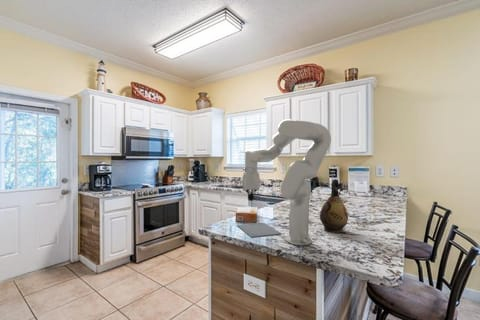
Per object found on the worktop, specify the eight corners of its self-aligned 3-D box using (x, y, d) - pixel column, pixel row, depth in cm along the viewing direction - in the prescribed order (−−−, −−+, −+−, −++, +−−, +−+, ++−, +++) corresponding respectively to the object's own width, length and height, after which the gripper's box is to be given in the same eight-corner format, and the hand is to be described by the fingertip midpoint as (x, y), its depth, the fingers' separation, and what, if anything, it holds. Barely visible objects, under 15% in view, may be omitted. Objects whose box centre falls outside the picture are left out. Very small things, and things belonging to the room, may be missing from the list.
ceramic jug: (350, 235, 130) (352, 181, 130) (321, 233, 133) (322, 180, 133) (343, 226, 147) (344, 178, 146) (317, 224, 150) (318, 177, 149)
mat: (281, 234, 130) (281, 233, 130) (251, 237, 124) (251, 236, 124) (263, 223, 151) (263, 222, 151) (237, 225, 144) (237, 224, 144)
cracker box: (256, 223, 153) (257, 214, 173) (256, 213, 152) (258, 206, 173) (235, 221, 154) (238, 213, 175) (235, 212, 154) (239, 205, 175)
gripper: (241, 170, 137) (241, 202, 137) (265, 170, 142) (264, 200, 142) (237, 169, 144) (236, 199, 144) (259, 169, 149) (259, 198, 149)
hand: (250, 200), depth 143 cm, fingers closed
